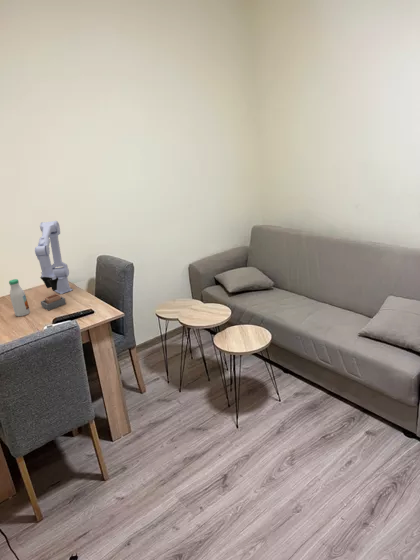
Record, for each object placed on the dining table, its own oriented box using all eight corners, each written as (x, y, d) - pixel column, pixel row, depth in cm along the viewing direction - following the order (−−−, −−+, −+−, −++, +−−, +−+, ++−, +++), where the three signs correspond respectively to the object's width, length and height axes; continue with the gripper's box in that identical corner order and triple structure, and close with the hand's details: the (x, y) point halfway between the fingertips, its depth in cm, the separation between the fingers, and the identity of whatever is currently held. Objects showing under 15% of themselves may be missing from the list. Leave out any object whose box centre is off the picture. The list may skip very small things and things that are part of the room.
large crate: (41, 307, 230) (40, 301, 229) (59, 300, 237) (57, 295, 236) (48, 310, 224) (47, 304, 223) (66, 303, 231) (64, 298, 230)
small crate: (46, 305, 230) (44, 297, 228) (58, 301, 235) (56, 293, 233) (50, 307, 227) (48, 299, 225) (62, 303, 231) (60, 295, 229)
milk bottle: (24, 316, 219) (15, 282, 212) (12, 316, 221) (2, 283, 214) (33, 310, 226) (23, 277, 219) (21, 310, 228) (11, 278, 221)
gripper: (33, 266, 226) (39, 288, 230) (44, 270, 216) (50, 293, 221) (45, 262, 230) (51, 284, 235) (57, 266, 220) (62, 289, 225)
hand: (51, 288), depth 228 cm, fingers open, 7 cm apart
